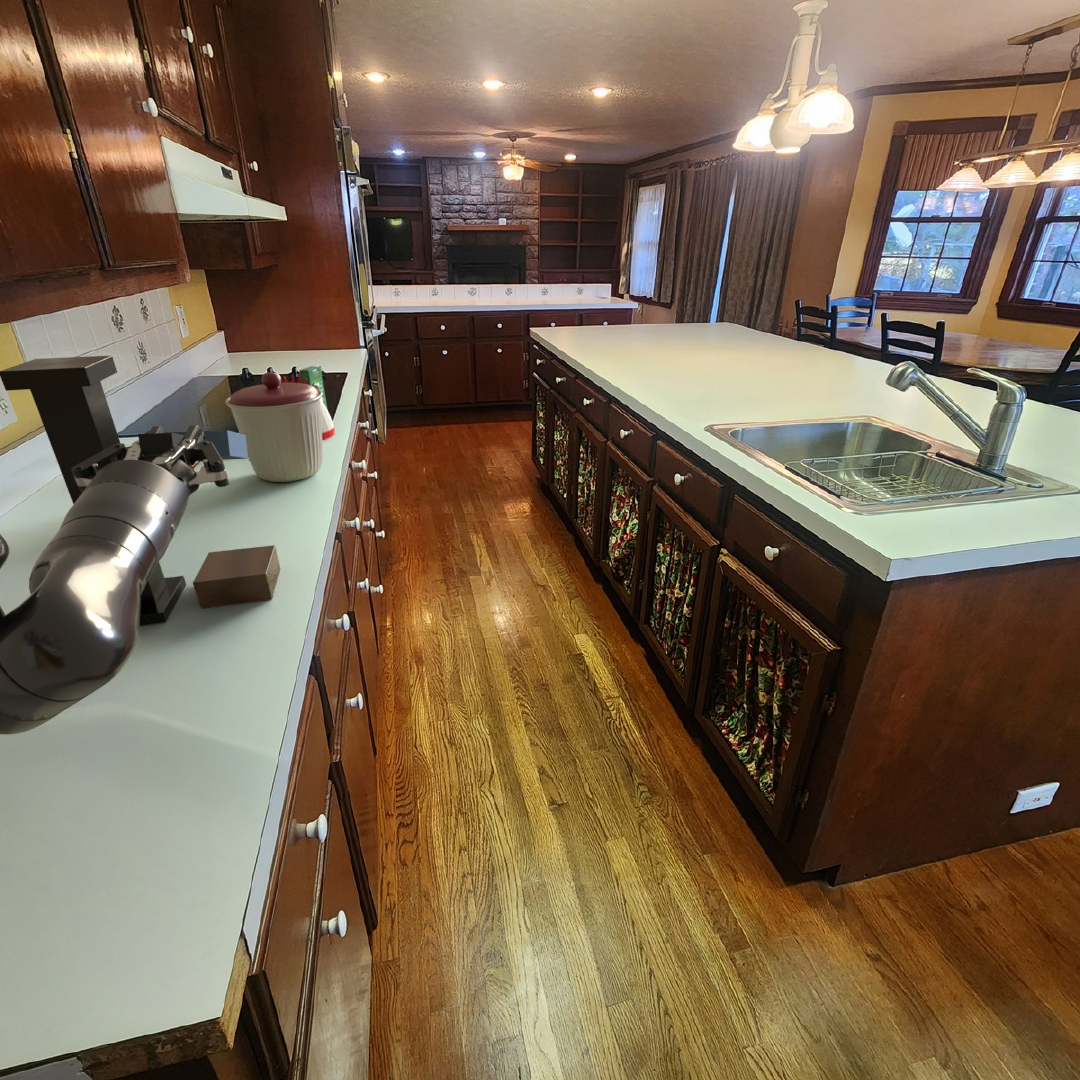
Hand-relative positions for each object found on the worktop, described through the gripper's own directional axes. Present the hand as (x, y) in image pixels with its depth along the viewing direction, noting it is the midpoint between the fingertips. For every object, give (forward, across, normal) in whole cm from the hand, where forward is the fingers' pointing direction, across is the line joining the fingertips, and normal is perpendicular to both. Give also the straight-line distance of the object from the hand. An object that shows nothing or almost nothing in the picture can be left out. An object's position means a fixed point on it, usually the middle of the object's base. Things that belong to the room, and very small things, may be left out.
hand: (178, 434), depth 66 cm
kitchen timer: (+82, +1, +40) cm, 92 cm away
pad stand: (+3, +12, +27) cm, 29 cm away
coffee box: (+103, 0, +44) cm, 112 cm away
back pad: (+1, 0, +3) cm, 4 cm away
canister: (+53, 0, +35) cm, 64 cm away
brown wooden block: (+6, 0, +27) cm, 27 cm away
